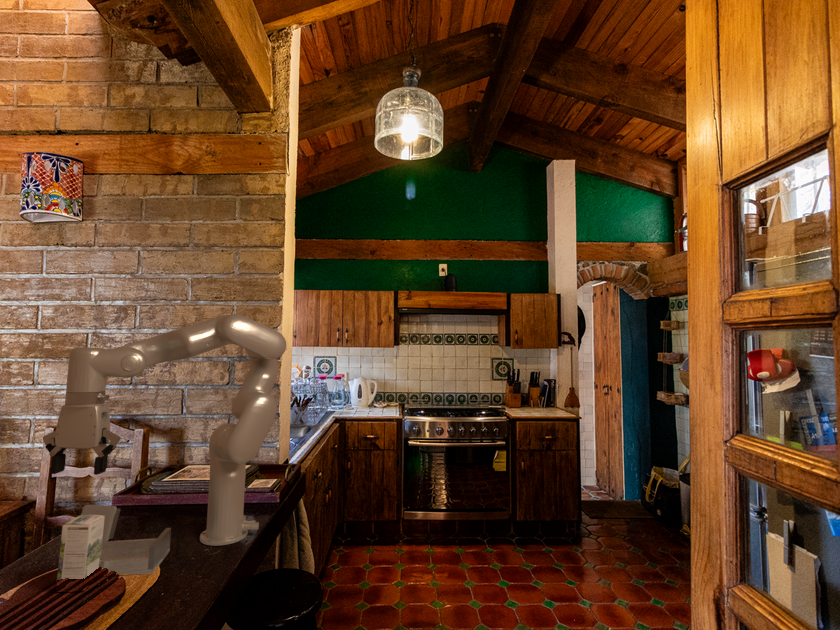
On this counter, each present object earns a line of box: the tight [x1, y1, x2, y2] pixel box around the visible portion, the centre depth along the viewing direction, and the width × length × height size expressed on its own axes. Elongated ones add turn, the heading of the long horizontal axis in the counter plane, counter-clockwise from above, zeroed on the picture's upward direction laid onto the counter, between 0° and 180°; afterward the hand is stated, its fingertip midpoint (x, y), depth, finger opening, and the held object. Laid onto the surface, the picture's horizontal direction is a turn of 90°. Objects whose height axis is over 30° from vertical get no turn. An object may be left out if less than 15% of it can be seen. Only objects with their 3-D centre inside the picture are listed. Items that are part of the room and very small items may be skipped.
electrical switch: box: [80, 504, 121, 542], centre depth 122 cm, size 9×5×9 cm, turn 86°
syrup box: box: [56, 514, 105, 581], centre depth 98 cm, size 6×6×14 cm
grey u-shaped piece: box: [100, 527, 172, 575], centre depth 108 cm, size 18×12×6 cm, turn 103°
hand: (78, 472), depth 103 cm, fingers open, 9 cm apart
